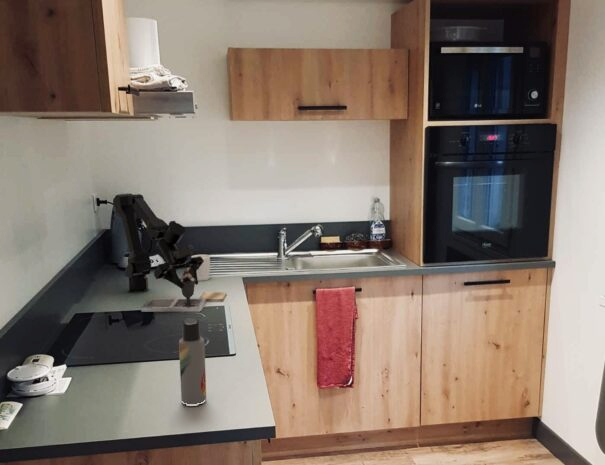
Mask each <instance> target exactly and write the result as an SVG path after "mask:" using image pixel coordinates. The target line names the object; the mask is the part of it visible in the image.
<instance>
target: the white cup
mask: <svg viewBox="0 0 605 465" xmlns="http://www.w3.org/2000/svg"><path fill="white" fill-rule="evenodd" d="M198 256H200V257H202V259H203V260H204V262H203V263H202V265H201V266H200V268H199V269H198V270H197V279H198V282H200V281H208V280H209V279H210V274H211V273H210V272H211V255H208V254H195V255H191V256H190V257H191V258H193V257H198ZM191 258H190V259H191Z"/></svg>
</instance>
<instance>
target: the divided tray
mask: <svg viewBox="0 0 605 465" xmlns="http://www.w3.org/2000/svg"><path fill="white" fill-rule="evenodd" d="M186 303H187V298H149V299H148V300H147V301H146V302H145V303H144V304H143V305H142V306H141V307H140V311H141V312H142V313H144V312H145V313H146V312H149V313H150V312H152V313H153V312H155V313H159V312H161V313H163V312H164V313H166V312H168V313H172V312H173V313H176V312H177V313H185V312H190V313H191V312H193V313H198V312H199V313H201V312H202V310H203V308H204V307H205V305H206V304H207V302H206V299H199V298H190V303H191V304H199V305H198V306H195V307H182V306H178V305H179V304H186ZM200 311H201V312H200Z"/></svg>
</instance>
